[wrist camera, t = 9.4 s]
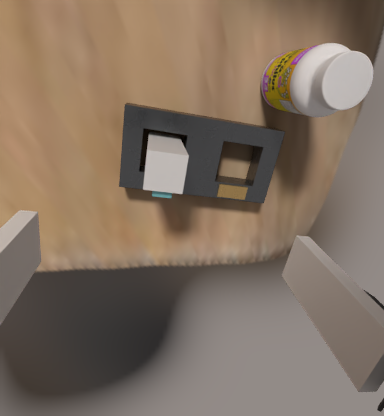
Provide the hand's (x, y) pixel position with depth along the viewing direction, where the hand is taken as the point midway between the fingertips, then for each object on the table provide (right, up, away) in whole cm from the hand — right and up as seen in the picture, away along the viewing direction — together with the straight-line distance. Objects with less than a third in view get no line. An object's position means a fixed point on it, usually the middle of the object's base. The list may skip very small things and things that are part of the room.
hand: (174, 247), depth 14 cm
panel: (+2, +10, +23) cm, 25 cm away
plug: (-3, +10, +22) cm, 25 cm away
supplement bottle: (+13, +18, +21) cm, 31 cm away
